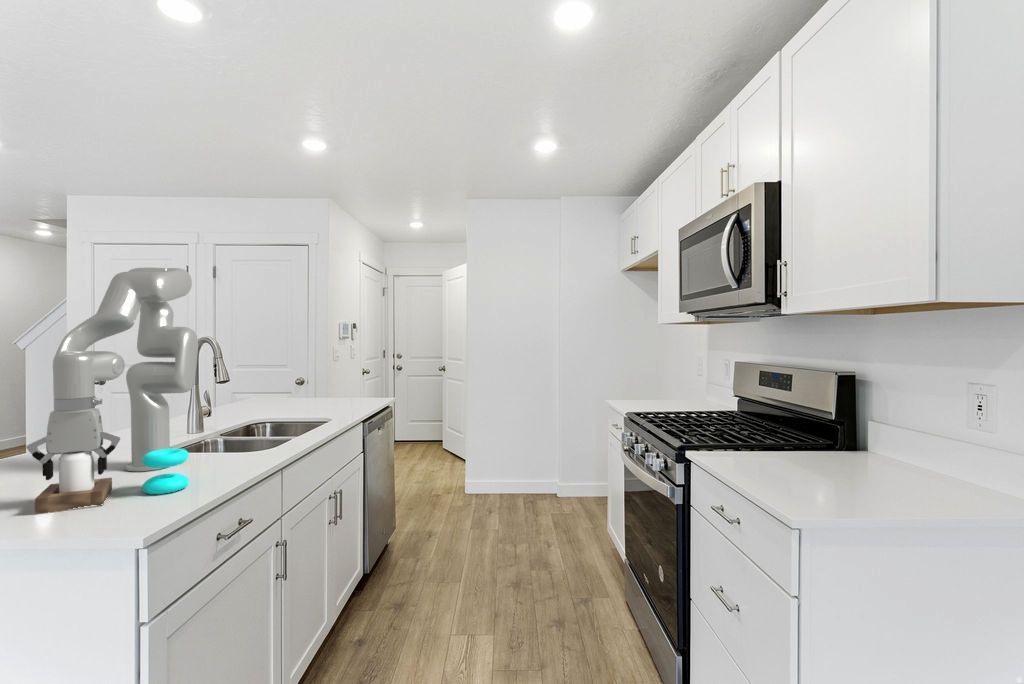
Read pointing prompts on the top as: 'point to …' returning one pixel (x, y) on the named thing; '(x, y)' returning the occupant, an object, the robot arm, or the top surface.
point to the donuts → (165, 481)
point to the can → (76, 472)
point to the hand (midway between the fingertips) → (75, 475)
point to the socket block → (72, 497)
